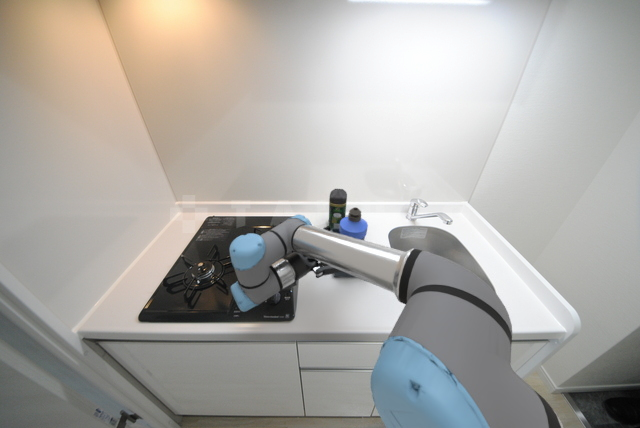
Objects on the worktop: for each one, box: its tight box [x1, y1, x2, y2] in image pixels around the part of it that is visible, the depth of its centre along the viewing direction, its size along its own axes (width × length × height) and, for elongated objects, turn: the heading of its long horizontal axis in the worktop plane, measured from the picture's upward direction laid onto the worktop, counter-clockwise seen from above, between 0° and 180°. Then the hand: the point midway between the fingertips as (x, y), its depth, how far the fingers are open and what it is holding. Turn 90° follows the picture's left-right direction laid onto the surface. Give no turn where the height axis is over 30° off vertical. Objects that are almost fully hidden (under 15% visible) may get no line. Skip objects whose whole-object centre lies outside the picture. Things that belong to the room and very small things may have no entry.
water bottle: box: [340, 207, 369, 240], centre depth 74 cm, size 9×9×25 cm
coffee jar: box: [328, 188, 348, 230], centre depth 97 cm, size 10×8×19 cm
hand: (343, 238), depth 70 cm, fingers open, 13 cm apart
